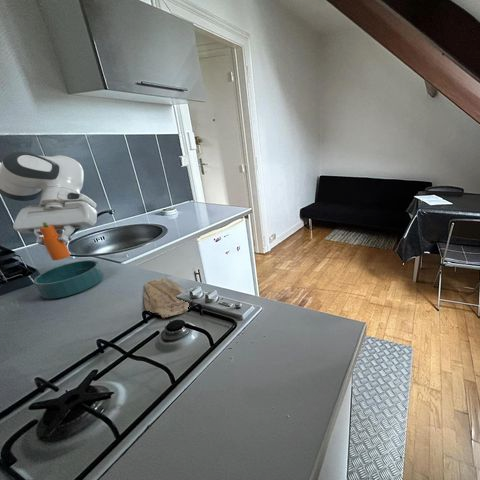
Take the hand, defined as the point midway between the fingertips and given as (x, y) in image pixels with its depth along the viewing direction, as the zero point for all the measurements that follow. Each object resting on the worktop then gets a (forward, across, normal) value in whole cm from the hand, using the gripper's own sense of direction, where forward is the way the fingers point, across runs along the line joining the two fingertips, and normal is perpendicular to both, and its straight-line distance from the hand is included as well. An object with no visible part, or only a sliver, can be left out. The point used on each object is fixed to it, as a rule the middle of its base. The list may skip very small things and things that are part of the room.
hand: (52, 242), depth 78 cm
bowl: (+11, 0, +11) cm, 16 cm away
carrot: (+3, 0, +4) cm, 5 cm away
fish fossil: (+22, +32, 0) cm, 39 cm away
